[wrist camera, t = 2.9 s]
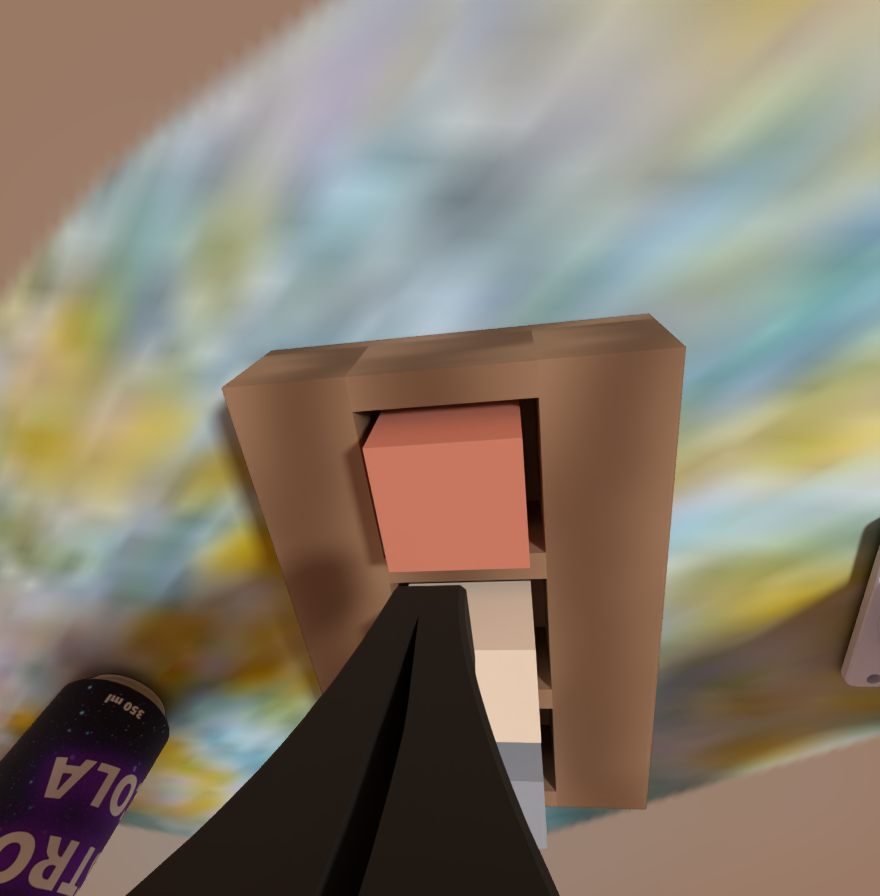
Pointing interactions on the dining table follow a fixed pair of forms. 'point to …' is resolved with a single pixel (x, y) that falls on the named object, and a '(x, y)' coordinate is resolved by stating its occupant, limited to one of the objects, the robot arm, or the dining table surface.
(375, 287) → the dining table surface
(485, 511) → the red key
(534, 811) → the grey block
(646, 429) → the brown slotted tray
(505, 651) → the ivory key
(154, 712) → the beverage can
